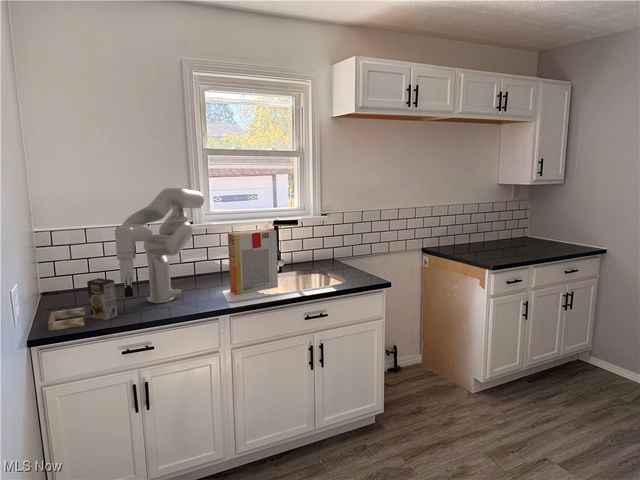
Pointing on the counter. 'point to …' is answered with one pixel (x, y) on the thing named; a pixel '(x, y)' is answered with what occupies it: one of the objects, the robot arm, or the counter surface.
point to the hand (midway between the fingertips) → (128, 296)
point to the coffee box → (102, 298)
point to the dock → (66, 323)
